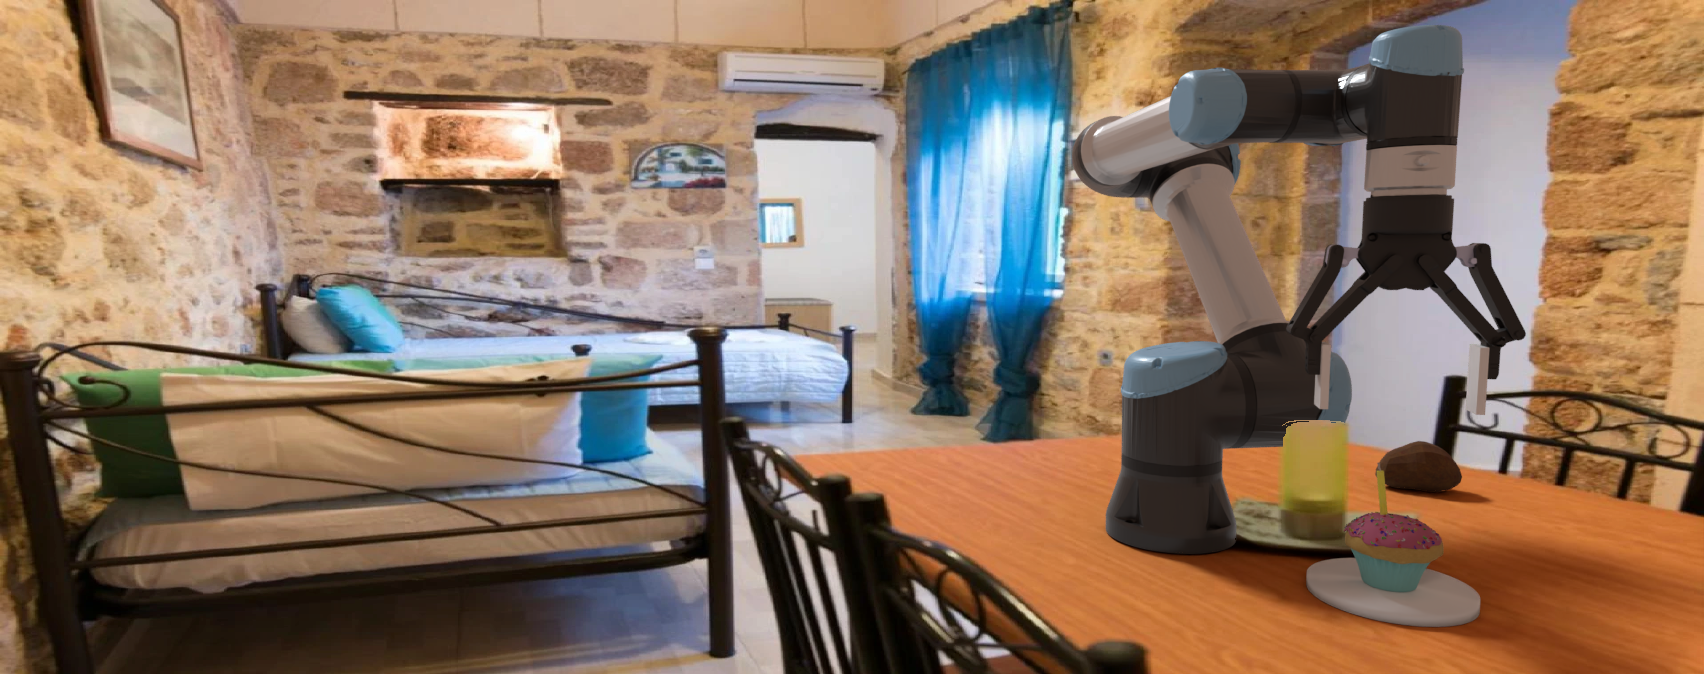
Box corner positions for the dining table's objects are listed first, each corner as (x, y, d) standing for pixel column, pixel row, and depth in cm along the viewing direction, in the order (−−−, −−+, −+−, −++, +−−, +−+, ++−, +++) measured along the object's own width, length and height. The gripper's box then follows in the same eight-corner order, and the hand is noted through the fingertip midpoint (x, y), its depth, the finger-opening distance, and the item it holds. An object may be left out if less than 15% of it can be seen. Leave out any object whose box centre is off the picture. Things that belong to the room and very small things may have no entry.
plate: (1325, 617, 86) (1325, 605, 85) (1292, 563, 100) (1293, 552, 100) (1507, 633, 82) (1508, 621, 81) (1446, 574, 96) (1447, 563, 96)
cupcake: (1322, 575, 93) (1328, 461, 92) (1381, 563, 96) (1387, 453, 95) (1400, 605, 85) (1408, 482, 84) (1461, 592, 88) (1469, 472, 87)
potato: (1369, 480, 134) (1372, 434, 133) (1451, 485, 130) (1454, 438, 130) (1380, 492, 127) (1382, 444, 126) (1466, 498, 124) (1469, 448, 123)
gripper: (1274, 195, 87) (1266, 411, 89) (1579, 188, 80) (1562, 422, 82) (1262, 198, 94) (1254, 398, 97) (1541, 192, 87) (1526, 407, 90)
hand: (1396, 409), depth 90 cm, fingers open, 13 cm apart
